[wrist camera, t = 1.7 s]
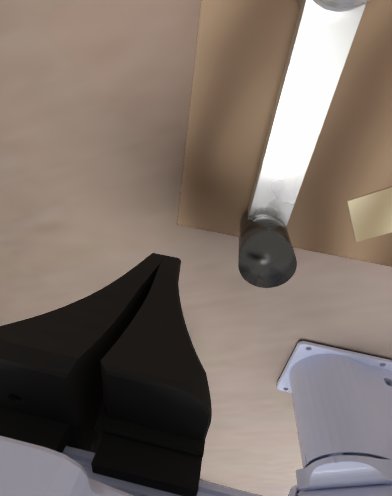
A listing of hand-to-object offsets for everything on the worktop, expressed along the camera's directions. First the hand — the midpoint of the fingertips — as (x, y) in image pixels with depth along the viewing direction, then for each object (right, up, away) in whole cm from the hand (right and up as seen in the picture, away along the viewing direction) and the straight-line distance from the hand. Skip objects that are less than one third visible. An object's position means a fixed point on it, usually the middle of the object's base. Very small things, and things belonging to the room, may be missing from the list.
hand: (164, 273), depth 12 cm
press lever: (+7, +9, +3) cm, 11 cm away
